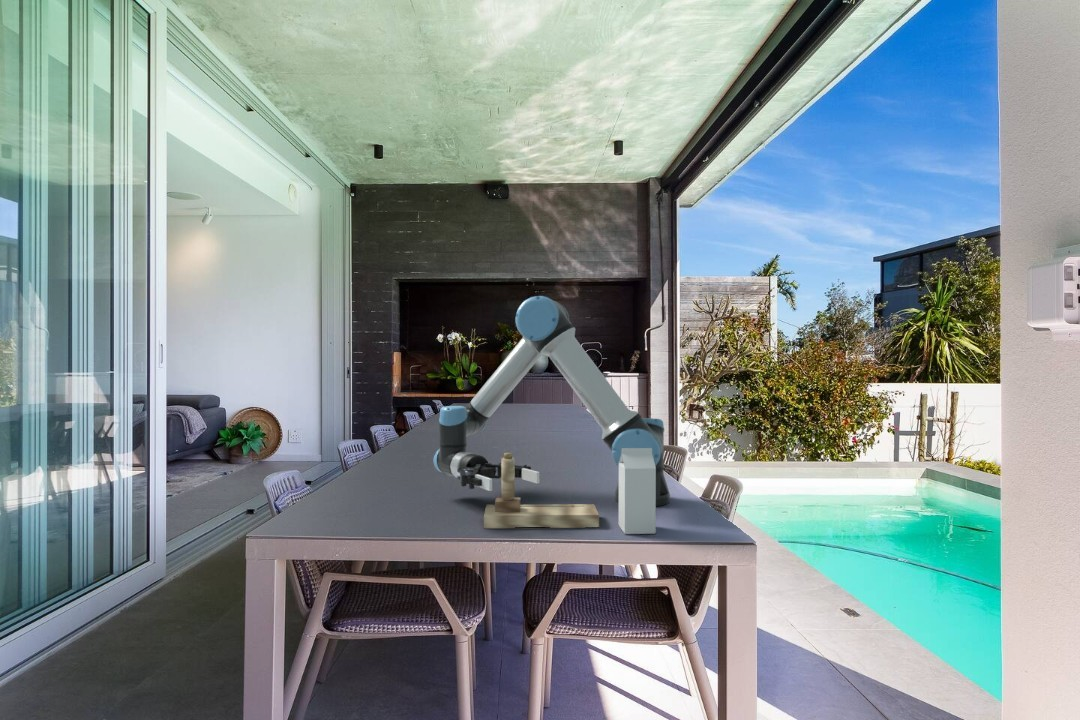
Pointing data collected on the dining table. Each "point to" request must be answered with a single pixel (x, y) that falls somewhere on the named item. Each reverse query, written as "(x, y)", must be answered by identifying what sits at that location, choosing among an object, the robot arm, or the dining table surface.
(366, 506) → the dining table surface
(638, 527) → the milk carton
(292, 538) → the dining table surface
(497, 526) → the oak plank
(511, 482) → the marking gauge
